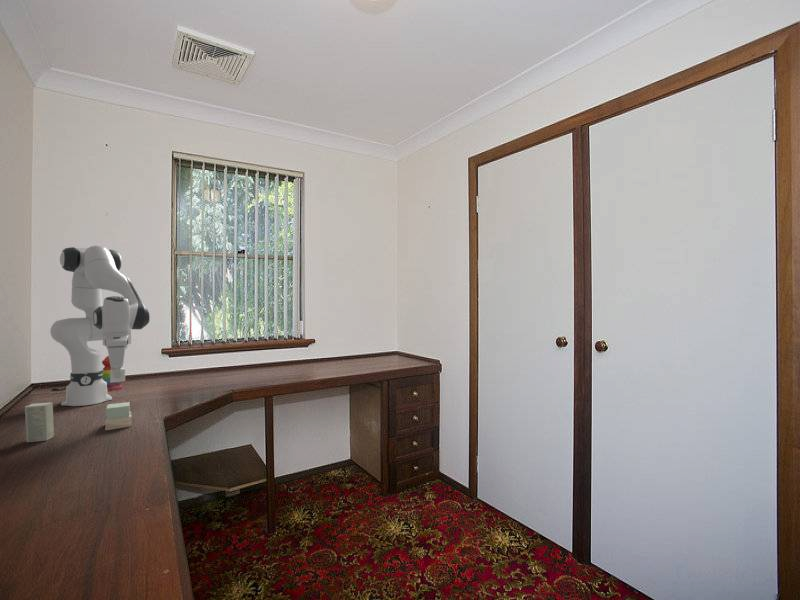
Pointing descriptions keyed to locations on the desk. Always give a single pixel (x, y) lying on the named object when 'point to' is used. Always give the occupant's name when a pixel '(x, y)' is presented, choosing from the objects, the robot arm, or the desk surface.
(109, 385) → the stacking bear
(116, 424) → the tower base
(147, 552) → the desk surface
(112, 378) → the cream block
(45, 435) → the skincare box
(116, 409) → the green tower middle block
